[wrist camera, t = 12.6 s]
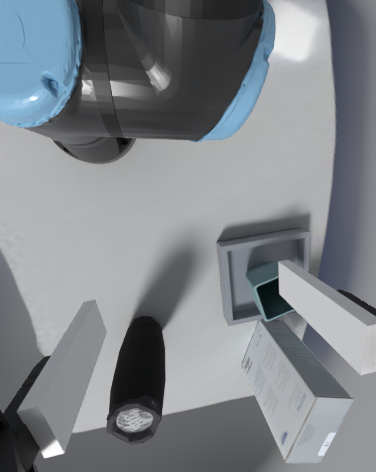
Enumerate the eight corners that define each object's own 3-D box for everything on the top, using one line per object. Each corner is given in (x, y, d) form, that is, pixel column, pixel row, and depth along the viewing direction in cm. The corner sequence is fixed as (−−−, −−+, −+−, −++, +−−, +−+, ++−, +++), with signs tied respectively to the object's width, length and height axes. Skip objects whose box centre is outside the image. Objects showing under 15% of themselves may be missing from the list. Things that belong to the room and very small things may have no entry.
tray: (216, 241, 44) (220, 247, 41) (299, 227, 46) (310, 231, 42) (223, 316, 49) (228, 326, 46) (297, 301, 51) (307, 309, 48)
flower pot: (235, 266, 45) (253, 287, 36) (271, 251, 45) (297, 267, 37) (247, 297, 48) (265, 323, 39) (281, 282, 48) (307, 305, 39)
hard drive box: (265, 367, 56) (319, 464, 37) (240, 365, 54) (282, 464, 35) (285, 320, 52) (356, 400, 33) (258, 316, 51) (317, 398, 32)
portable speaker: (117, 331, 47) (87, 432, 28) (146, 306, 46) (136, 392, 27) (143, 351, 49) (132, 456, 30) (171, 328, 48) (178, 420, 30)
